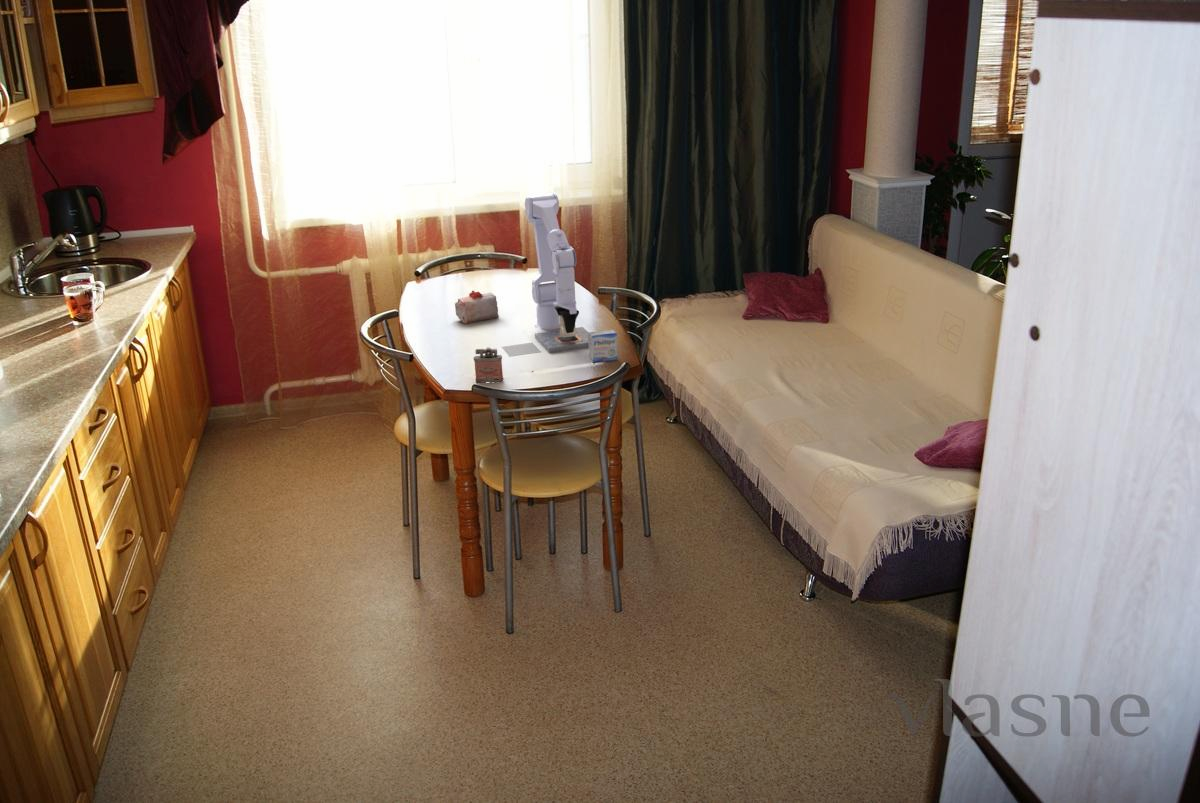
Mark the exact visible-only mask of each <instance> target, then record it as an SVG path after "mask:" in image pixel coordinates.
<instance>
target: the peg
mask: <svg viewBox="0 0 1200 803" xmlns="http://www.w3.org/2000/svg"><path fill="white" fill-rule="evenodd" d="M575 328H576V326H575V327H574V331H573V332H572V333H567V332H566V329H565V324H564V320H563V317H562V315H559V328H558V329H559V330H560V335H561V336H563V337H570V336H576V329H575Z"/></svg>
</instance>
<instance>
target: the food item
mask: <svg viewBox="0 0 1200 803" xmlns="http://www.w3.org/2000/svg"><path fill="white" fill-rule="evenodd" d="M454 306H455V315H456V317H458V319H459V320H460V321H461V322H463V323H464V324H465V325H466V324H472V323H475V321H476V322H481V321H485V320H486V321H487V320H492V318H493V319H496V318H499V316H500V315H499V308H498V301H497V296H496V295H495V294H494V293H492V292H486V293H485V292H484V293H481V292H479V291H475V290H472V291H471V292H469V293H468V296H466V297H460V298H458V299H457V302H455V303H454ZM471 322H472V323H471Z"/></svg>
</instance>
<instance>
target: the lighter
mask: <svg viewBox="0 0 1200 803" xmlns="http://www.w3.org/2000/svg"><path fill="white" fill-rule="evenodd" d="M474 351H475V355H476V356H473V361H474V369H475V370H474V371H475V383H476V384H478V383H480V384H481V383H486V382H500V383H503V382H504V381H505V380H504V377H503V376H504V374H503V364H502V359H503V356H502V354H498V349H497V348H491V347H486V348H485V349H484V348H475V350H474ZM503 380H504V381H503ZM502 381H503V382H502ZM480 384H479V385H480ZM481 385H482V384H481Z"/></svg>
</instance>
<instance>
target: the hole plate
mask: <svg viewBox="0 0 1200 803" xmlns="http://www.w3.org/2000/svg"><path fill="white" fill-rule="evenodd" d="M575 329H576V336H570V337H563V336H561V335H560V329H559V330H558V329H557V330H551V331H543V332H537V333H536V332H535V333H534V338H535V339H536V341H537V342H538V343H539V344H540V345H541V346H542V347H543V348H544V350H545V351H547V353H548V354H551V353H560V352H566V351H574V350H579V349H589V343H588V332H589V331H588V330H587V329H586V328H585V327H584V326H580V327H575Z"/></svg>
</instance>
